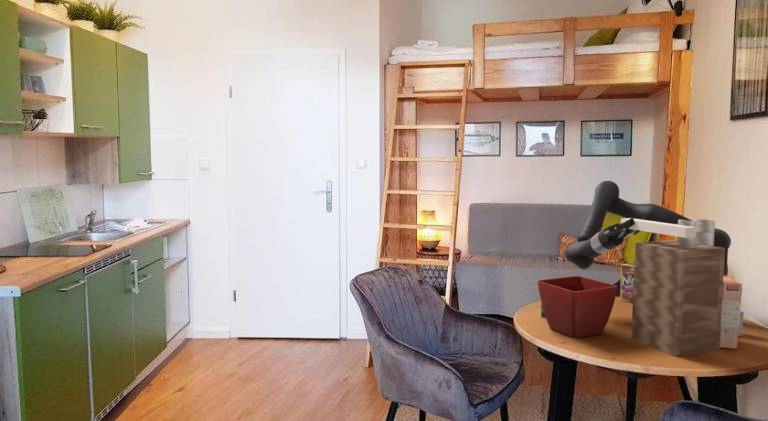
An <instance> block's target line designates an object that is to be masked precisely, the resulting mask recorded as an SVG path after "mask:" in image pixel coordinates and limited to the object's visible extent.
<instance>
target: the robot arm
mask: <svg viewBox="0 0 768 421" xmlns="http://www.w3.org/2000/svg"><path fill="white" fill-rule="evenodd" d="M607 213H610V214H614V215H616V216H620V217H622V218H631V219H629V220H627V221H626V222H622V223H621V222H620V223H619V222H617V223H615V224H613V225H609V226H606V227H605V228H604V229H603V226H604V221H605V219H606V218H605V217H606V215H607ZM634 219H640V220H648V221H655V222H662V223H670V224H677V225H678V220H687V221H693V220H692V219H689V218H688V217H686V216H684V215H682V214H679V213H678V212H676V211H673V210H671V209H668V208H666V207H664V206H661V205H659V204H655V203H634V202H630V201H628V200H625V199H622V198H620V188H619V186H618V184H617V183H616V182H614V181H612V180H604V181H601V182H600V183H598V184H597V185H596V187H595V189H594V197H593V200H592V203H591V206H590V209H589V210H588V214H587V215H586V218H585V220H584V222H583V224H582V227H581V229H580V230H579V232H578V236H577V237H576V240H577V242H573V243H571V244H570V245H568V246H567V247H566V249H565V251H564V256H565V259H567V261H568V262H570V263H572V264H573V265H575V266H576V267H578V268H579V269H581V270H586V269H587V270H588V269H589V268H591V266H592V264H593V262H594V260H595V258H598V257H600V256H602V255H603V254H605V253H608V252H610V251H612V250H614V249H615V248H617V247H619V246H621V245H622V244H623V243H624V239H625V238H627V237H629V236H630V235H635V236H636V235H638V234H639V233H640V232H641V231H640V230H634V229H627V228H629V227H631V226H633V225H634V224H635V222H634ZM695 239H696V238H695ZM731 244H732V240H731V236H730V235H729V234H728V233H727V232H726V231H724V230H723V229H720V228H718V227H715V231H714V246H716V247H722V248H725V259H724V275H723V276H726V277H728V274H729V267H728V266H729V265H728V256H729V248H730V247H731ZM728 278H729V277H728Z"/></svg>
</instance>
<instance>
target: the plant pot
mask: <svg viewBox="0 0 768 421" xmlns="http://www.w3.org/2000/svg"><path fill="white" fill-rule="evenodd" d="M537 287H538V291H539V292H538V293H539V297H540V302H541V303H542V306H543V310H544V313H545V316H546V317H545V319H546V321H547V324H548V326H549V329H552V330H554V331H556V332H559V333H561V334H563V335H566V336H569V337H571V338H583V337H589V336H594V335H595V336H596V335H601V334H603V332H604V330H605V328H606V326H607V323H609V322H608V321H609V318H610V317H611V313H612V310H613V308H614V304H615V300H616V297H617V292H618V288H619V287H618V285H615V284H612V283H608V282H605V281H600V280H596V279H592V278H588V277H585V276H581V275H574V276H564V277H556V278H547V279H538V280H537ZM541 303H540V304H541Z"/></svg>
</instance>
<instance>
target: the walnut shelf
mask: <svg viewBox="0 0 768 421" xmlns="http://www.w3.org/2000/svg"><path fill="white" fill-rule="evenodd" d="M678 225H684V226H692V227H697V228H696V237H689V238H684V237H677V236H676V238H677V239H672V240H657V241H640V242H639V241H638V242H635V247H634V264H633V265H634V287H633V303H632V311H631V312H632V313H631V331H630V332H631V334H630V337H631V340H633V341H636V342H638V343H641V344H643V345H646V346H649V347H651V348H653V349H656V350H659V351H661V352H664V353H667V354H669V355H671V356H674V357H682V356H688V355H689V356H690V355H695V354H700V353H701V354H702V353H706V352H707V353H708V352H714V351H719V350H720V348H719V342H720V325H721V308H722V292H723V275H724V259H725V248H722V247H716V246H714V231H715V228H716V220H715V219H714V220H713V219H712V220H711V219H705V218H696V221H694V220H692V221H687V220H678ZM695 238H696V239H695Z"/></svg>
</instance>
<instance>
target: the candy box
mask: <svg viewBox="0 0 768 421" xmlns="http://www.w3.org/2000/svg"><path fill="white" fill-rule="evenodd" d="M634 265H635V264H630V263H623V264H621V266H620V267H621V268H620V269H621V270H620V291H619V292H620V296H619V300H620V301H622V302H627V303H631V304H633V287H634Z"/></svg>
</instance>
